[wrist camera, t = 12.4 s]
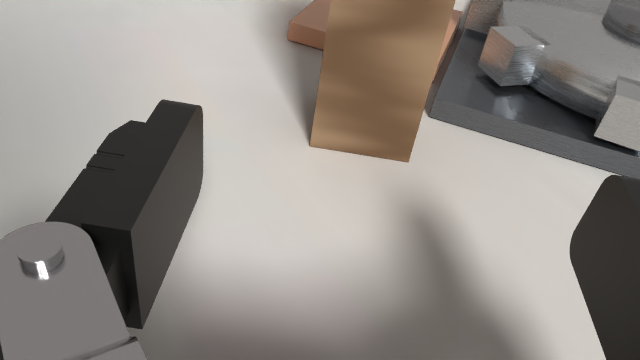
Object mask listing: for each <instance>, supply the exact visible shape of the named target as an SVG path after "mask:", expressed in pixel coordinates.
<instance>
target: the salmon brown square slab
mask: <svg viewBox="0 0 640 360" xmlns="http://www.w3.org/2000/svg"><path fill="white" fill-rule="evenodd" d="M330 3H331V0H314V1H313V2H312V3H311V4H310V5H309V6H307V7H306V8H305V9H304V10H303V11H301V12H300V13H299V14H298V15H297V16H296V17H294V18H293V19H292V20H291V21H290V22H289V31H288V40H291V41H294V42H298V43H301V44H304V45H308V46H311V47H315V48H318V49H322V50H324V44H325V37H326V30H327V23H328V16H329V10H330ZM462 13H463V12H461V11H457V10H452V14H451V17H450V21H449V24H448V28H447V31H446V35H445V38H444V41H443V45H442V48H441V52H440V55H439V59H438V62H437V66H436V69H435V72H434V76H433V79H432V81H434V79H435V77H436V74H437V72H438V70H439V68H440V66H441V64H442V61H443V59H444V57H445V55H446V53H447V51H448V48H449V46H450V44H451V42H452V40H453V38H454V35H455V33H456V31H457V29H458V26H459V23H460V20H461V16H462Z"/></svg>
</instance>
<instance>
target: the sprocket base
mask: <svg viewBox="0 0 640 360" xmlns="http://www.w3.org/2000/svg"><path fill="white" fill-rule="evenodd" d="M487 36H488V34H484V33H481V32H478V31H474V30H471V29H468V28H465V29H464V31H463V34H462V36H461V38H460V41H459V43H458V45H457V48H456V50H455V52H454V54H453V57H452V59H451V61H450V64H449V66H448V68H447V71H446V73H445V75H444V78H443V80H442V82H441V84H440V87H439V89H438V91H437V94H436V96H435V99H434V102H433V105H432V109H431V112H430V115H429V117H432V118H435V119H438V120H442V121H445V122H448V123H451V124H455V125H458V126H461V127H465V128H468V129H471V130H475V131H478V132H481V133H485V134H488V135H491V136H495V137H498V138H501V139H504V140H508V141H511V142H514V143H518V144H521V145H524V146H528V147H531V148H534V149H538V150H541V151H544V152H548V153H551V154H554V155H557V156H561V157H564V158H567V159H571V160H574V161H577V162H581V163H584V164H587V165H591V166H594V167H597V168H600V169H604V170H607V171H610V172H614V173H617V174H620V175H624V176H627V177H630V178H636V179H640V151H637V150H634V149H631V148H628V147H625V146H622V145H619V144H616V143H613V142H610V141H607V140H604V139H601V138H598V137H595V136H594V130H595V122H596V119H594V118H591V117H589V116H586V115H584V114H582V113H579V112H577V111H575V110H573V109H571V108H569V107H567V106H565V105H562V104H560V103H558V102H557V101H555V100H553V99H551V98H549V97H548V96H546V95H544V94H542V93H541V92H539V91H537V90H536V89H534V88H533V87H531V86H530V85H528V84H527V85H511V86H500V85H499V84H497V83H496V82H495V81H494V80H493V79H492V78H491V77H490V76H489V75H488V74H486V73H485V72H484V71H483V70H482V69H481V68H480V67H479V66H478V63H479V60H480V57H481V54H482V51H483V48H484V45H485V42H486V39H487Z"/></svg>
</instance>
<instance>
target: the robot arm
mask: <svg viewBox="0 0 640 360" xmlns="http://www.w3.org/2000/svg"><path fill="white" fill-rule="evenodd" d="M202 177H203V111H202V107H201V106H199V105H193V104H187V103H181V102H175V101H169V100H161V101H160V102H159V103H158V105H157V106H156V108H155V109H154V111H153V112H152V114H151V116H150V117H149V119H148V120H147V122H146V123H144V122H138V121H132V120H131V121H129V122H127V123H126V124H124V125H122V126H121V127H119V128H117V129H116V130H114V131H112V132H111V133H109V135H108V136H107V137H106V139H105V140H104V141H103V143H102V144H101V146H100V147H99V148H98V150H97V154H94V155H93V157H92V158H91V159H90V161H89V162H88V163H87V166H86V169H83V170H82V172H81V173H80V174H79V176H78V177H77V179H76V180H75V181H74V183H73V184H72V185H71V187H70V188H69V190H68V191H67V192H66V194H65V195H64V196H63V198H62V199H61V201H60V202H59V203H58V205H57V206H56V207H55V209H54V210H53V212H52V213H51V214H50V216H49V217H48V218H47V220H46V221H45V222H41V223H36V224H31V225H28V226H25V227H22V228H20V229H18V230H15V231H13V232H12V233H10V234H8V235H7V236H5V237H4V238H3V239H1V240H0V360H147V358H146V356H145V354H144V351H143V349H142V347H141V345H140V343H139V341H138V339H137V338H136V337H132V338H131V336H130V334H129V332H128V330H127V327H131V328H137V329H143V326H144V324H145V322H146V319H147V317H148V315H149V312H150V310H151V308H152V305H153V303H154V300H155V298H156V296H157V293H158V291H159V289H160V286H161V284H162V282H163V279H164V277H165V274H166V272H167V270H168V267H169V265H170V263H171V260H172V258H173V256H174V253H175V251H176V249H177V246H178V244H179V241H180V239H181V237H182V234H183V232H184V230H185V227H186V225H187V223H188V220H189V218H190V215H191V213H192V211H193V208H194V206H195V204H196V201H197V199H198V196H199V193H200V189H201V184H202ZM570 259H571V263H572V266H573V268H574V271H575V274H576V277H577V279H578V282H579V285H580V288H581V291H582V293H583V296H584V299H585V302H586V304H587V307H588V310H589V313H590V315H591V318H592V321H593V324H594V327H595V329H596V332H597V335H598V338H599V340H600V343H601V346H602V349H603V352H604V354H605V357H606V360H640V179H636V178H630V177H624V176H618V175H611V176H609V177H607V178H606V179H605V180H604V181H603V183H602V184H601V186H600V188H599V189H598V191H597V193H596V194H595V196H594V198H593V200H592V201H591V203H590V205H589V206H588V208H587V210H586V212H585V213H584V215H583V217H582V218H581V220H580V222H579V223H578V225H577V227H576V229H575V230H574V233H573V235H572V238H571V243H570Z"/></svg>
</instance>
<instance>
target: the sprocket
mask: <svg viewBox="0 0 640 360" xmlns="http://www.w3.org/2000/svg"><path fill="white" fill-rule="evenodd" d="M464 27H465V28H468V29H471V30H474V31H478V32H481V33H484V34H488V36H487V39H486V42H485V45H484V48H483V51H482V54H481V57H480V60H479V63H478V66H479V67H480V68H481V69H482V70H483V71H484V72H485V73H486V74H488V75H489V76H490V77H491V78H492V79H493V80H494V81H495V82H496V83H497V84H499V85H500V86H511V85H527V84H528V85H530V86H531V87H533V88H534V89H536V90H537V91H539V92H541V93H542V94H544V95H546V96H548V97H549V98H551V99H553V100H555V101H557V102H558V103H560V104H562V105H565V106H567V107H569V108H571V109H573V110H575V111H577V112H579V113H582V114H584V115H586V116H589V117H591V118H594V119H596V122H595V130H594V136H595V137H598V138H601V139H604V140H607V141H610V142H613V143H616V144H619V145H622V146H625V147H628V148H631V149H634V150H637V151H640V0H472V2H471V5H470V8H469V12H468V15H467V18H466V21H465V24H464Z"/></svg>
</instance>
